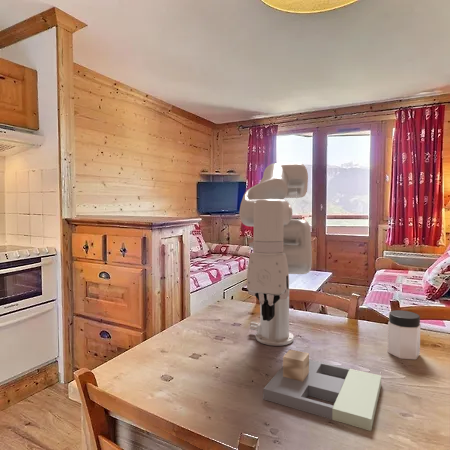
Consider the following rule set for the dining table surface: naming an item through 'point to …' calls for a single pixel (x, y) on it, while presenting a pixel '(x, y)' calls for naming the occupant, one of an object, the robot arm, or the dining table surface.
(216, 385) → the dining table surface
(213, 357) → the dining table surface
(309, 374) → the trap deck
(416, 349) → the jar
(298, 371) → the birch block
